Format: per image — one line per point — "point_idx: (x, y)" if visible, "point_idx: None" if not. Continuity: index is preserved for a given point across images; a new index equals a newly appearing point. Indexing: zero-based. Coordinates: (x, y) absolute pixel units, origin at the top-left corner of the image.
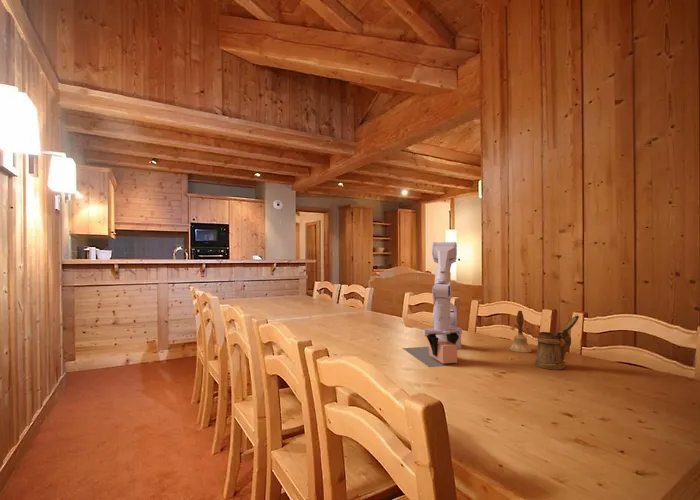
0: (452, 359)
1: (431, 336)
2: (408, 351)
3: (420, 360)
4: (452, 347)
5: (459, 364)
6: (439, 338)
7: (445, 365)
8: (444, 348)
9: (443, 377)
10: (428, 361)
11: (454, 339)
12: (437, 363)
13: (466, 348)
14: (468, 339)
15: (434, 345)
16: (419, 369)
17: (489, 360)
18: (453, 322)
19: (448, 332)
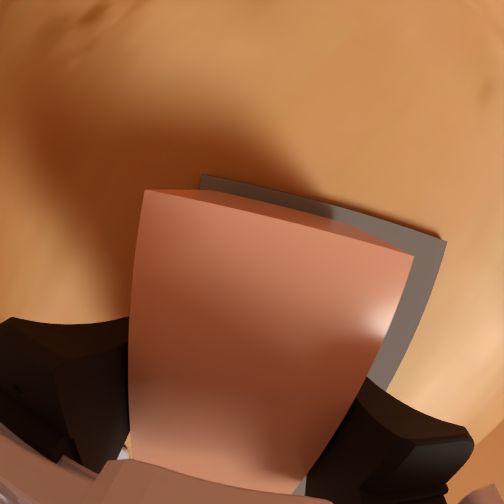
0: (254, 201)
1: (432, 491)
2: (304, 494)
3: (387, 381)
4: (234, 207)
5: (203, 178)
6: None
7: (326, 211)
8: (374, 240)
9: (456, 71)
10: None
11: (71, 343)
12: None
13: None
14: None
15: (386, 395)
16: (487, 254)
17: (6, 206)
18: (1, 501)
19: (180, 499)
